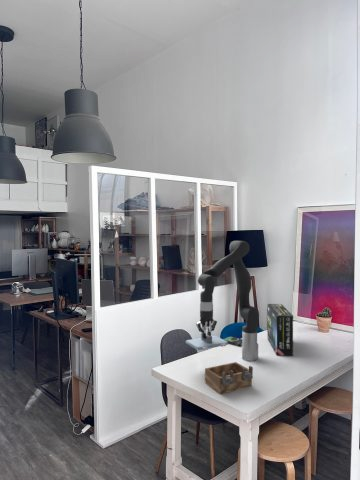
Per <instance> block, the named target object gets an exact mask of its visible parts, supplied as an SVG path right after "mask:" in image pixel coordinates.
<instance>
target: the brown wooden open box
mask: <svg viewBox="0 0 360 480" xmlns="http://www.w3.org/2000/svg"><path fill="white" fill-rule="evenodd" d="M253 369H254V367H253V366H251V365H249V366H248V367H245V366H244V365H242V364H240V363H238V362H236V361H234V362H230V363H225V364H220V365H215V366H210V367H207V368H206V367H205V368H204V384H205V385H207V386H208V387H210V389H212V390H213V391H214V392H216V393H217V394H219V395H221V394H222V395H223V394H226V393H230V392H234V391H238V390H242V389H246V388H249V387H252V386H253V379H254V376H253V373H254V372H253V371H254V370H253Z"/></svg>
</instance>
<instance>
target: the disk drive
mask: <svg viewBox="0 0 360 480" xmlns="http://www.w3.org/2000/svg"><path fill="white" fill-rule="evenodd" d="M222 339H223V340H225V341H227V342H228V345H232V346H235V347H238V348H239V347H242V338H238V337H234V336H227V337H225V338H222Z"/></svg>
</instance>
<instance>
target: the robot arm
mask: <svg viewBox="0 0 360 480" xmlns="http://www.w3.org/2000/svg"><path fill="white" fill-rule="evenodd" d="M249 251H250V245H249V242H247V241H244V240H233V241H231V242H230V244H229V254H228V255H226V256H225V257H223V258H221V259H219V260H218V261H216V262H215V263H214V264H213V265H212V266H211V268H209V269H207V270H204V271H203V272H202V273H201V274H200V275H199V276H198V278H197V283H198V285H199V286H201V287H204V290H201V292H200V297H199V298H200V301H199V302H200V303H199V318H200V319H199V321H198V322H196V323H195V325H196V328H197V329H198V332H200V333H201V334H202V338H203V339H206V334H208V335H210V336H212V332H214V331H215V328H216V326H217V323H218V320H215V319H214V304H213V301H214V299H213V295H214V291H215V287H216V286H215V285H216V279H217V278H220V277H221V276H222V274H223V273H224V272H226V270H228V269H229V268H230V267H232V266H233V270H234V276H235V284H236V288H237V295H238V296H237V297H238V305H239V316H240V317H241V319H243V320H245V321H246V325H243V326H242V327H241V328H242V331H241V335H242V337H241V339H242V346H241V359H242V360H244V361H248V362H254V361H257V360H258V359H259V343H258V329H259V326H260V325H259V322H260V311H259V308H257V307H255V306H253V305H250V304H251V303H250V300H249V296H250V292H251V289H252V278H251V274H250V272H249V270H248V268H247V267H246V265H245V264H244V262H243V258H244V257H245V256H246V255H247V254H248V253H249Z"/></svg>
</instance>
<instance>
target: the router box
mask: <svg viewBox="0 0 360 480" xmlns="http://www.w3.org/2000/svg"><path fill="white" fill-rule="evenodd" d="M266 313H267V340H268V343H269V345H270V346H271V348H272V349H273V352H274V353H275V355H276V356H280V357H281V356H282V357H289V356H290V357H291V356H292V357H293V356H294V315H293V314H292V313H291V312H290V311H289V310H288V309H287V308H286V307H285V306H284V305H283V304H281V303H267V308H266Z"/></svg>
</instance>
